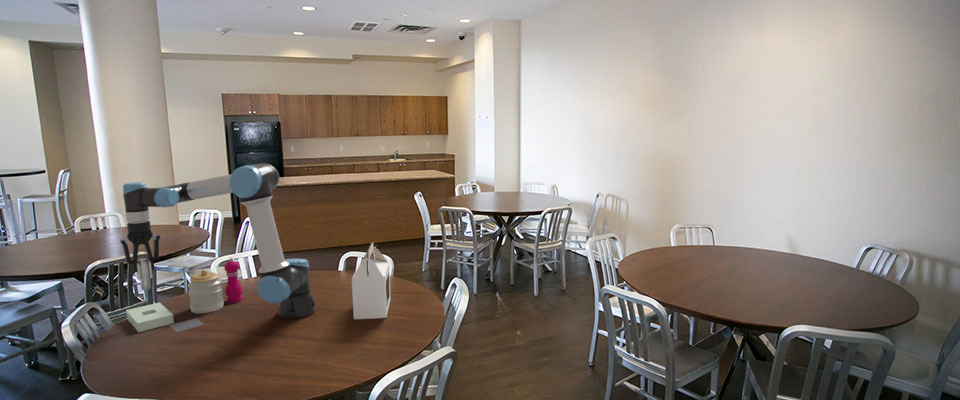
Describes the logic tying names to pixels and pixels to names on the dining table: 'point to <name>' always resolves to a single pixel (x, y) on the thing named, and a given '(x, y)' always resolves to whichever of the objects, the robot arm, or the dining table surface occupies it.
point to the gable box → (371, 286)
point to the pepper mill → (233, 282)
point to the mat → (186, 325)
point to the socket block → (149, 317)
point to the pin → (144, 274)
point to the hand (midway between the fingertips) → (145, 278)
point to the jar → (205, 292)
